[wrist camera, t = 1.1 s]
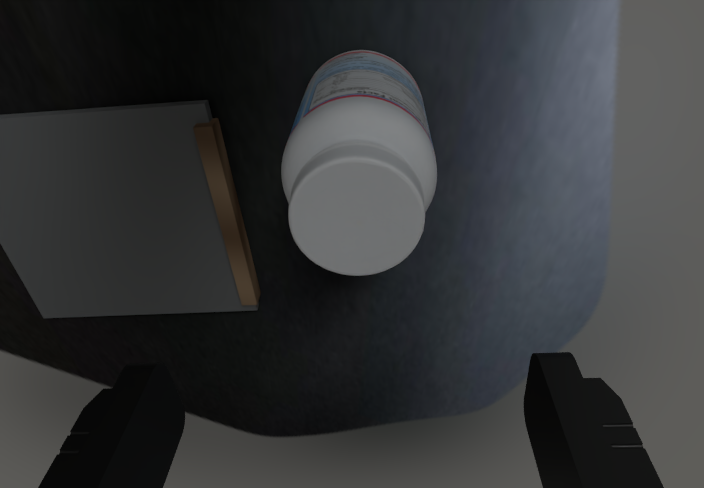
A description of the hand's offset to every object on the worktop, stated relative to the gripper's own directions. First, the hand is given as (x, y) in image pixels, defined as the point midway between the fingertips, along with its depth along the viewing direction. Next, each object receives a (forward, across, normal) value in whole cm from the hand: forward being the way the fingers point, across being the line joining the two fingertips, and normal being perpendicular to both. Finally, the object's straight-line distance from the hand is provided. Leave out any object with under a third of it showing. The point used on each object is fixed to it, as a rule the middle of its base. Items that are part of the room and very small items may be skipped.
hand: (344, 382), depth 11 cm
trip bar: (+18, +8, +6) cm, 21 cm away
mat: (+18, +16, +6) cm, 24 cm away
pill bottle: (+18, 0, 0) cm, 18 cm away
